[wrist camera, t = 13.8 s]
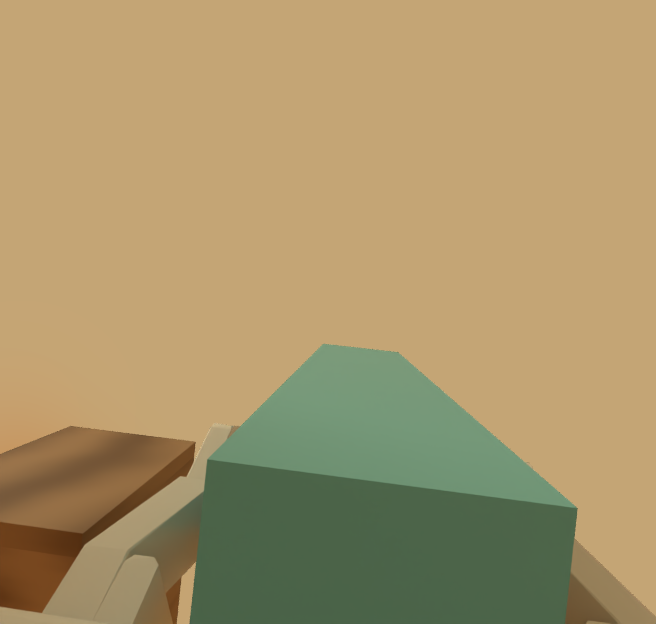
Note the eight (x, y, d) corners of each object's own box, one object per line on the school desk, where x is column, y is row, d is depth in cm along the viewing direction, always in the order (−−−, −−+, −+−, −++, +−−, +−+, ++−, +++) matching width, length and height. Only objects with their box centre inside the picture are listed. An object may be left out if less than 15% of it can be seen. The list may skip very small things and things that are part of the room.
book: (173, 776, 5) (207, 459, 5) (316, 409, 25) (323, 343, 25) (545, 843, 5) (581, 509, 5) (391, 418, 25) (398, 352, 25)
